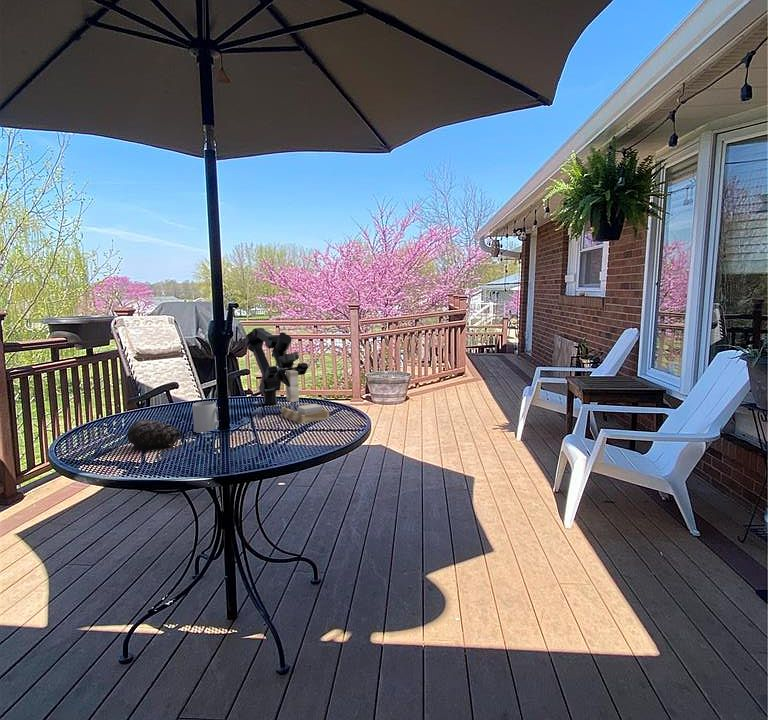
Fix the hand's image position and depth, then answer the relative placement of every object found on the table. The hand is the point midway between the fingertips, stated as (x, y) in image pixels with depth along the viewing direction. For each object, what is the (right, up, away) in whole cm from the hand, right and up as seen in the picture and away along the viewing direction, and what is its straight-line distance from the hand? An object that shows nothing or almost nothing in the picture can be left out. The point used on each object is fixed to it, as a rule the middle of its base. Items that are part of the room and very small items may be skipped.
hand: (293, 385), depth 206 cm
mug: (-28, -17, -23) cm, 39 cm away
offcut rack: (+6, -13, -6) cm, 16 cm away
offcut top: (+9, -10, -10) cm, 17 cm away
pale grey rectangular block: (-1, -6, +2) cm, 7 cm away
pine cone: (-40, -19, -40) cm, 60 cm away
